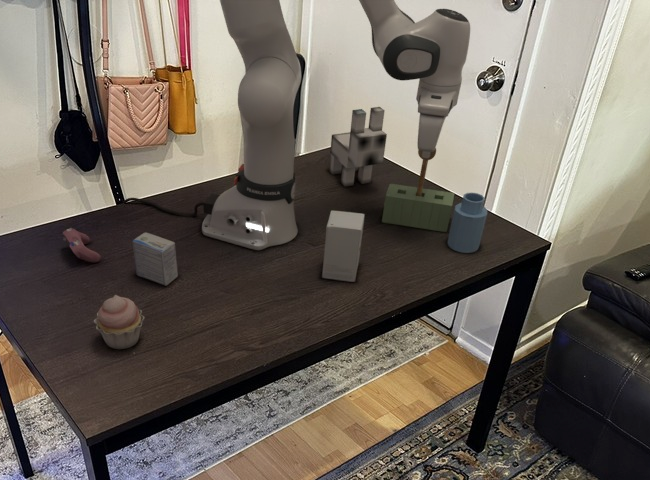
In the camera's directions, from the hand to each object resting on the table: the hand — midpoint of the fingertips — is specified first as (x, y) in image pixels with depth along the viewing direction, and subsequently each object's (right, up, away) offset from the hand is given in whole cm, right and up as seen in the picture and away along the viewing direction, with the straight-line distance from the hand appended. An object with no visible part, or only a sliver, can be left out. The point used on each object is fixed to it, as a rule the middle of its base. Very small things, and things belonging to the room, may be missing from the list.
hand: (426, 155), depth 160 cm
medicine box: (-60, -29, -10) cm, 67 cm away
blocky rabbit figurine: (-14, +2, +28) cm, 31 cm away
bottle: (+9, -20, +3) cm, 22 cm away
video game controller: (-77, -24, -5) cm, 81 cm away
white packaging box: (-20, -28, -7) cm, 35 cm away
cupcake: (-64, -44, -27) cm, 82 cm away
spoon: (0, -10, +9) cm, 14 cm away
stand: (0, -13, +11) cm, 17 cm away
